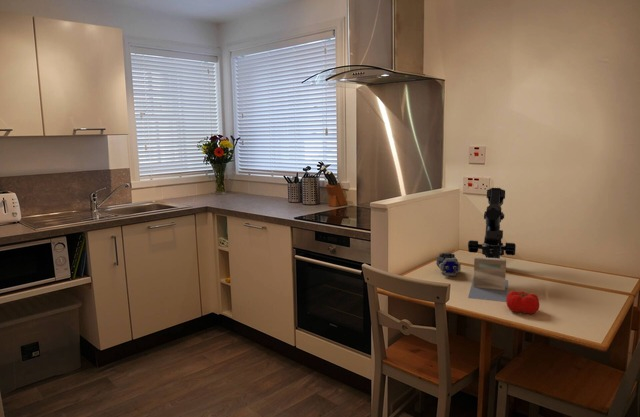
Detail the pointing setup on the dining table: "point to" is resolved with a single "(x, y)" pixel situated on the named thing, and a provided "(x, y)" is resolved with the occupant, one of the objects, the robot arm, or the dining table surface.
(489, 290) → the mat
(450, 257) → the toy
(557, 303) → the dining table surface
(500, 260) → the board
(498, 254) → the robot arm
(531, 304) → the tomato
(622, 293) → the dining table surface
